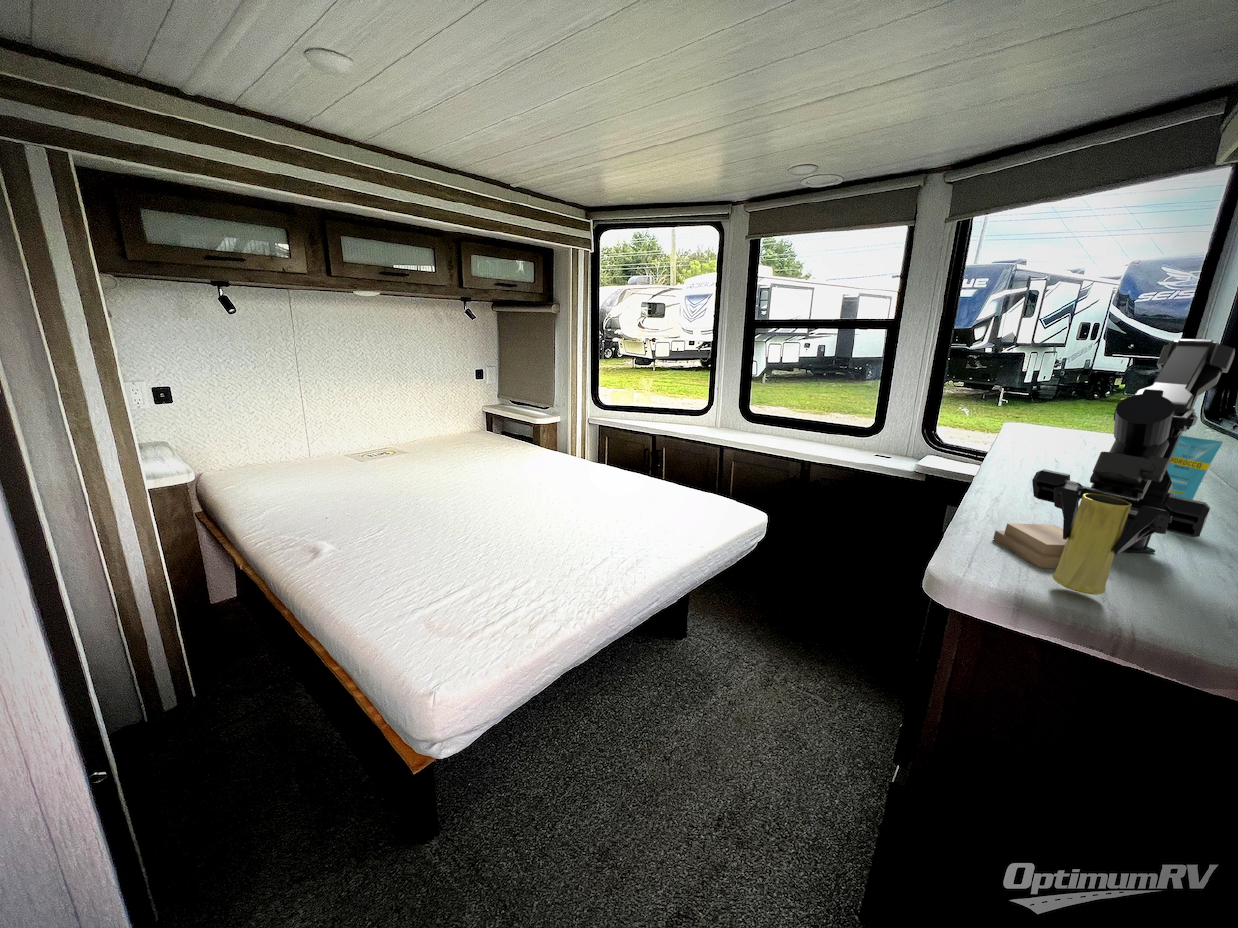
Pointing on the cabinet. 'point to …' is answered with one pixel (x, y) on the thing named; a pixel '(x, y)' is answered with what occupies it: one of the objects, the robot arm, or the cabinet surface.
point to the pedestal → (1034, 543)
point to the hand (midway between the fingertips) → (1089, 545)
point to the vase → (1092, 543)
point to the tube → (1191, 464)
